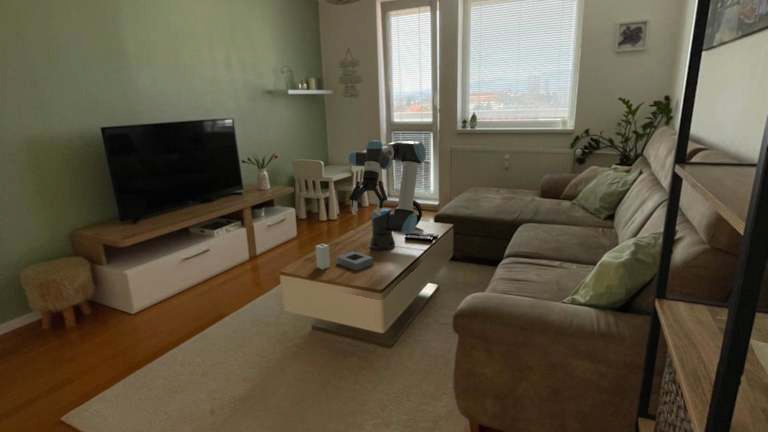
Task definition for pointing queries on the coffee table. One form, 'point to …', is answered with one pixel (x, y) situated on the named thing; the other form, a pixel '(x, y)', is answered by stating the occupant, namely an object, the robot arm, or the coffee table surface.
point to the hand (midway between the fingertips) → (365, 214)
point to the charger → (322, 256)
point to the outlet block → (355, 260)
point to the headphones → (417, 209)
